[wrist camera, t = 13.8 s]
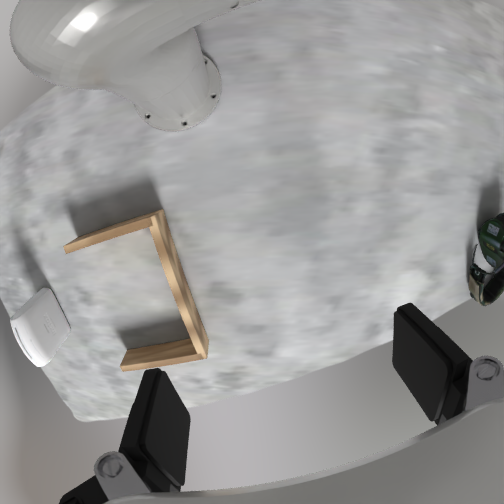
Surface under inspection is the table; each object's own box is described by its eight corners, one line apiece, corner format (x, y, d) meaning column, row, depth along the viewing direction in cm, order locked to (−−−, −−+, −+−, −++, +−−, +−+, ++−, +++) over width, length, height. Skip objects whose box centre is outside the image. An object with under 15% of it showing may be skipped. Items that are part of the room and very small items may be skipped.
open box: (77, 237, 41) (63, 246, 36) (163, 209, 41) (154, 215, 36) (130, 354, 49) (122, 371, 44) (208, 340, 48) (207, 358, 44)
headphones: (472, 237, 40) (464, 316, 49) (535, 240, 31) (515, 320, 41) (470, 203, 48) (467, 276, 57) (523, 205, 39) (513, 279, 48)
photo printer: (75, 332, 47) (47, 372, 35) (60, 335, 47) (31, 373, 35) (51, 284, 43) (15, 317, 32) (37, 289, 43) (1, 320, 32)
